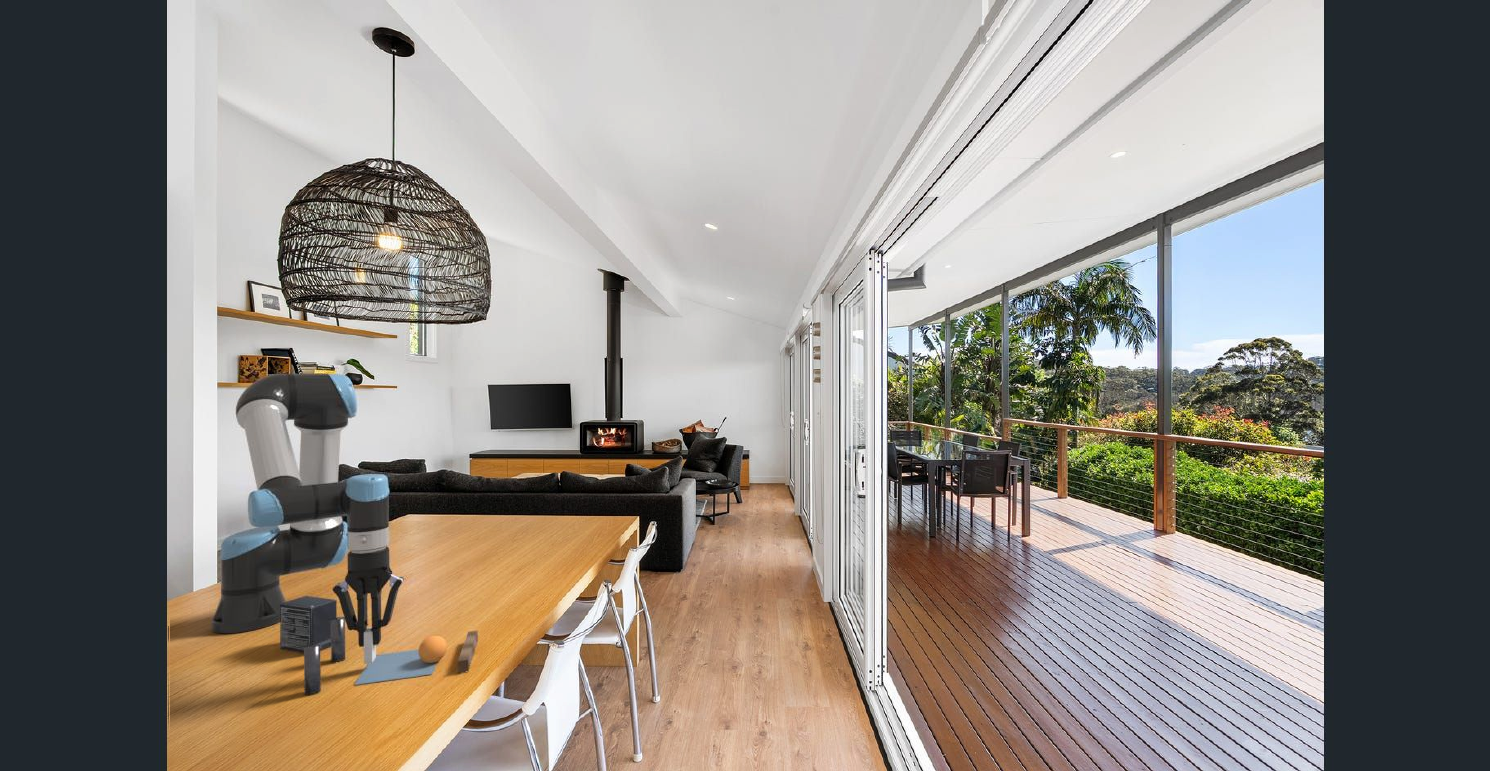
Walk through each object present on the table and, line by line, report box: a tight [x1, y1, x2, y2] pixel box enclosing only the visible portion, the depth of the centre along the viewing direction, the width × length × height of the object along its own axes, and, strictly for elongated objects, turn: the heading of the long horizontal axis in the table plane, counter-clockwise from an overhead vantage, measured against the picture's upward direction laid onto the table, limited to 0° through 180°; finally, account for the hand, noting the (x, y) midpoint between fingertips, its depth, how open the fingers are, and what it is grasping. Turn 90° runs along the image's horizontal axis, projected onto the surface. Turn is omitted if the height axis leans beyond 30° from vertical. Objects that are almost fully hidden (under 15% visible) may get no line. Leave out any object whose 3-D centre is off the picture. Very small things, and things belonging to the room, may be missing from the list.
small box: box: [279, 595, 338, 654], centre depth 140 cm, size 11×6×10 cm, turn 71°
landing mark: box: [354, 649, 439, 687], centre depth 130 cm, size 14×14×1 cm
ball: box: [418, 635, 448, 663], centre depth 131 cm, size 6×6×6 cm
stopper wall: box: [457, 630, 479, 674], centre depth 133 cm, size 16×2×2 cm, turn 17°
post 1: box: [303, 643, 322, 697], centre depth 118 cm, size 3×3×9 cm
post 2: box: [330, 616, 346, 664], centre depth 132 cm, size 3×3×9 cm
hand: (370, 660), depth 128 cm, fingers closed
